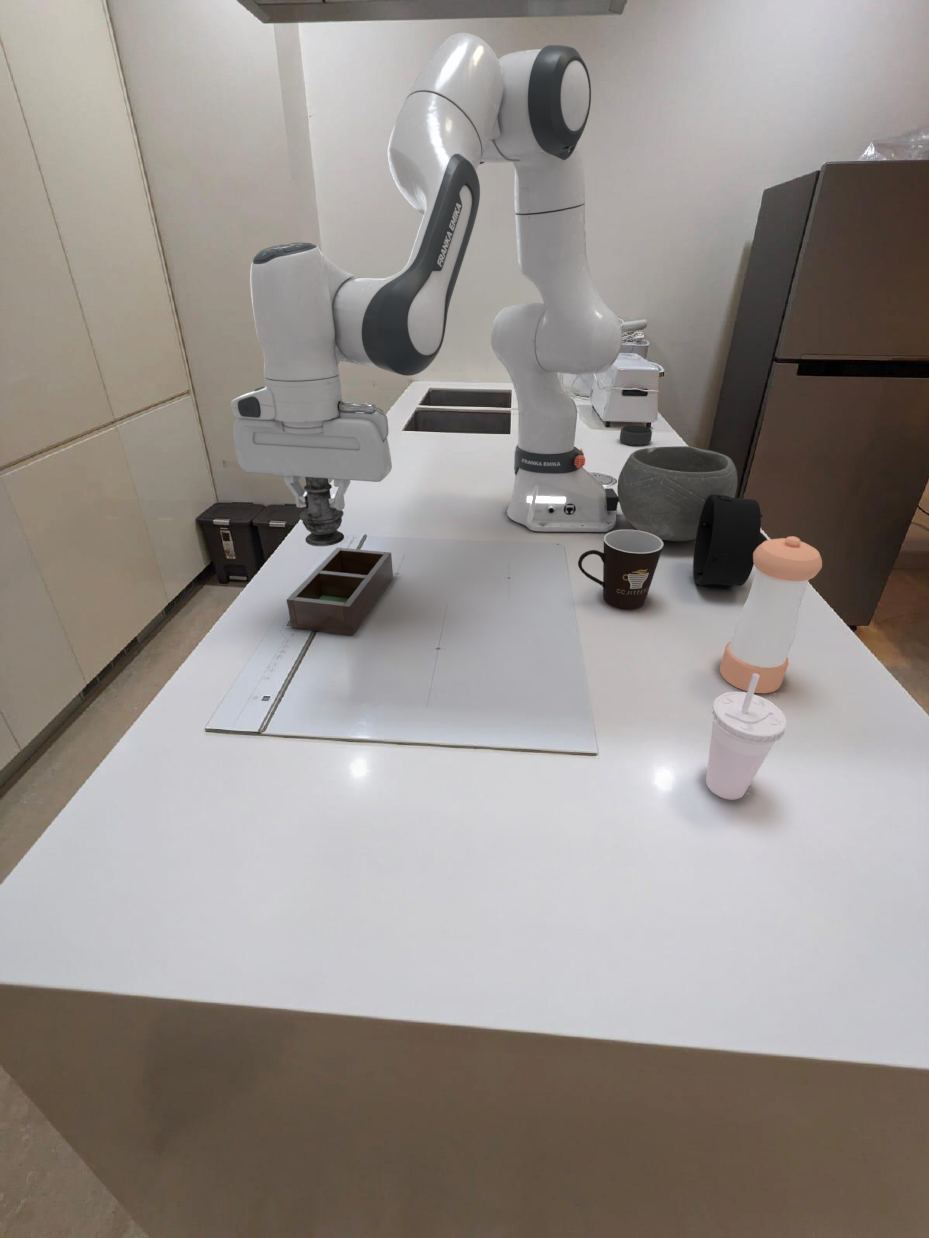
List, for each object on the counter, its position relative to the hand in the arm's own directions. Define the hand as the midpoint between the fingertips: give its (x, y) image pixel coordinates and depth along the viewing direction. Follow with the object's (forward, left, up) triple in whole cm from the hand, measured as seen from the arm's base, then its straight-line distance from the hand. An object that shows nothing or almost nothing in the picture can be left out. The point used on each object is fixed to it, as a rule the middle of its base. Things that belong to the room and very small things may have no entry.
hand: (320, 507), depth 78 cm
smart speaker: (-47, -110, -17) cm, 121 cm away
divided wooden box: (0, -4, -17) cm, 18 cm away
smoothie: (-52, +23, -17) cm, 59 cm away
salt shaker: (0, 0, -5) cm, 5 cm away
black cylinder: (-59, -23, -17) cm, 66 cm away
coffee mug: (-41, -14, -17) cm, 47 cm away
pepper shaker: (-58, +3, -17) cm, 61 cm away
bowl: (-51, -42, -17) cm, 68 cm away
